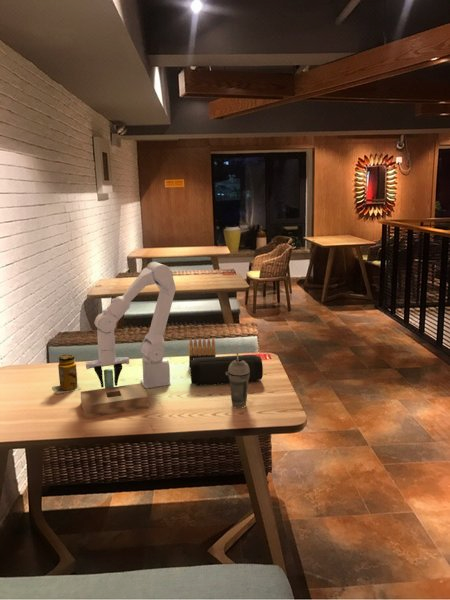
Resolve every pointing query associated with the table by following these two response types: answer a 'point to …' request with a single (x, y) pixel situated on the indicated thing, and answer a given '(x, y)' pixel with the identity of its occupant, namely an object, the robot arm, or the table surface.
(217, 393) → the table surface
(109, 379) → the peg
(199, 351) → the ammunition clip
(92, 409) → the hole block
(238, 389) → the beverage cup
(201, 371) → the portable speaker
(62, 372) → the condiment
